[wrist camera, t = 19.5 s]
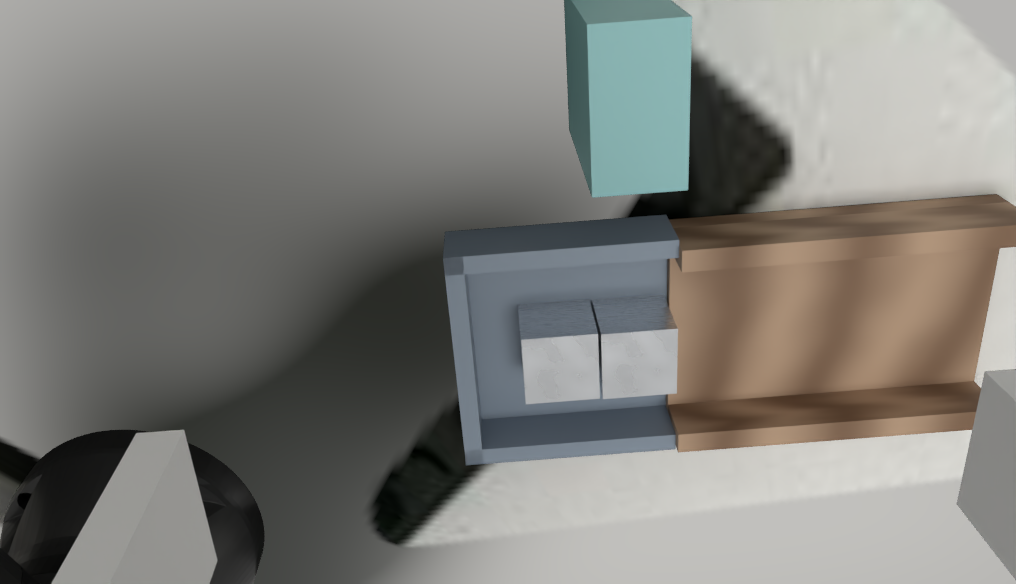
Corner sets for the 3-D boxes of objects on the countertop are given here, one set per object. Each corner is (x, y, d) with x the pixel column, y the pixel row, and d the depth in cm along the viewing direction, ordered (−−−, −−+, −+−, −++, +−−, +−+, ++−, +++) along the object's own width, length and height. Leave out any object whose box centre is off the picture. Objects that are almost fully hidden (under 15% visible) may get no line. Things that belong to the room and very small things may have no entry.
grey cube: (522, 365, 51) (526, 404, 48) (517, 304, 50) (521, 339, 46) (591, 360, 51) (599, 398, 48) (589, 299, 50) (598, 333, 46)
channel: (663, 410, 54) (678, 452, 50) (665, 219, 48) (682, 251, 44) (960, 387, 54) (997, 427, 50) (996, 194, 48) (1040, 223, 44)
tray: (466, 429, 54) (466, 465, 51) (445, 231, 48) (442, 258, 45) (663, 414, 54) (675, 449, 51) (666, 214, 48) (679, 240, 45)
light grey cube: (593, 361, 51) (602, 399, 48) (591, 299, 50) (601, 334, 46) (662, 355, 51) (676, 393, 48) (663, 294, 50) (678, 328, 46)
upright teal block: (569, 130, 46) (592, 197, 37) (563, -12, 43) (587, 24, 34) (646, 124, 46) (688, 190, 37) (646, -19, 43) (691, 16, 34)
